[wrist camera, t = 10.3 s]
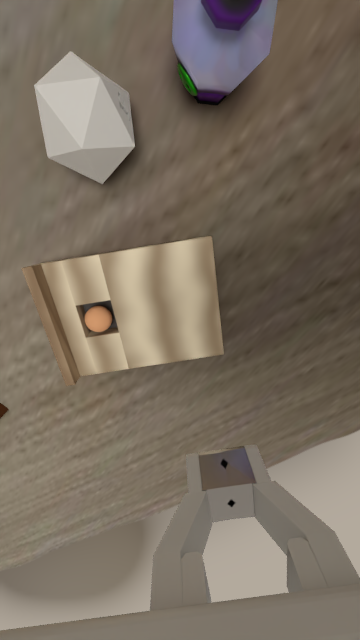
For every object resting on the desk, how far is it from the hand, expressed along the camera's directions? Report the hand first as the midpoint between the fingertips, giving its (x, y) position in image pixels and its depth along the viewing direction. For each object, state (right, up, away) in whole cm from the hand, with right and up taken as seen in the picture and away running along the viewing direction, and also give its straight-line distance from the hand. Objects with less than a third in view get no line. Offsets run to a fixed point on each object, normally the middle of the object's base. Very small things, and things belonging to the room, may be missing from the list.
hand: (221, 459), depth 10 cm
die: (-11, +26, +17) cm, 33 cm away
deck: (-8, +8, +24) cm, 26 cm away
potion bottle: (+1, +32, +15) cm, 35 cm away
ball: (-12, +7, +23) cm, 27 cm away
